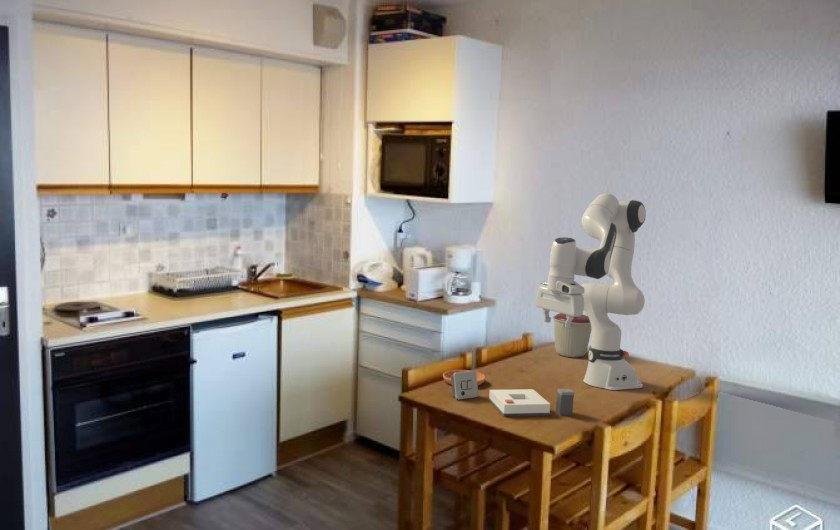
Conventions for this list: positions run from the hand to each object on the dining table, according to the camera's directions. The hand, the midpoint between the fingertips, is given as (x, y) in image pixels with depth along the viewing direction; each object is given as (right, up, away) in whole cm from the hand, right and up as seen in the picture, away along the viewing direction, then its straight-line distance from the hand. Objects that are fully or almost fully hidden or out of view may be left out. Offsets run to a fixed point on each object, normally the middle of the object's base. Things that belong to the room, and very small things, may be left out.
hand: (556, 324), depth 251 cm
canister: (+20, -20, +75) cm, 81 cm away
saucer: (-31, -24, +24) cm, 46 cm away
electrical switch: (-32, -26, +7) cm, 42 cm away
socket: (-14, -28, -3) cm, 31 cm away
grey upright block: (+1, -29, -5) cm, 30 cm away
